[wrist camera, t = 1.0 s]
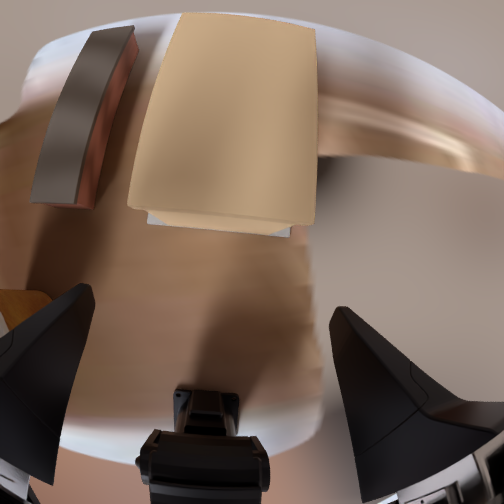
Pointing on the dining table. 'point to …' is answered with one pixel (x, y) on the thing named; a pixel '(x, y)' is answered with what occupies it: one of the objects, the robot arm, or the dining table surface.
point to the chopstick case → (84, 121)
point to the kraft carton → (231, 127)
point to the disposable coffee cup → (19, 307)
